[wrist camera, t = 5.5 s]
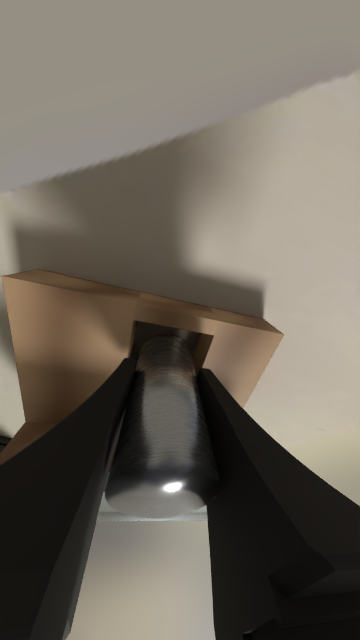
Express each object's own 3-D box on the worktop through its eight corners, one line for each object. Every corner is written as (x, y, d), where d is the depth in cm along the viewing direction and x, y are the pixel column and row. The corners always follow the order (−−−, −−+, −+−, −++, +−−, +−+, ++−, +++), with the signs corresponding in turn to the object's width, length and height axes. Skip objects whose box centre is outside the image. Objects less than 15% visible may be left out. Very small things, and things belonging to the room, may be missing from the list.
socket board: (263, 319, 13) (357, 389, 7) (214, 420, 18) (241, 520, 11) (37, 269, 10) (-167, 306, 4) (48, 403, 15) (-40, 521, 9)
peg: (187, 378, 13) (208, 515, 6) (138, 376, 12) (107, 521, 6) (194, 337, 11) (232, 459, 5) (139, 333, 11) (100, 462, 4)
